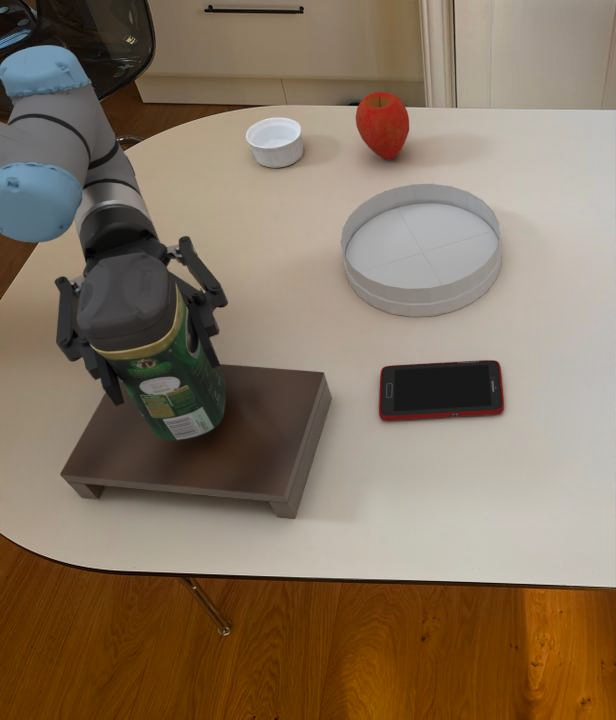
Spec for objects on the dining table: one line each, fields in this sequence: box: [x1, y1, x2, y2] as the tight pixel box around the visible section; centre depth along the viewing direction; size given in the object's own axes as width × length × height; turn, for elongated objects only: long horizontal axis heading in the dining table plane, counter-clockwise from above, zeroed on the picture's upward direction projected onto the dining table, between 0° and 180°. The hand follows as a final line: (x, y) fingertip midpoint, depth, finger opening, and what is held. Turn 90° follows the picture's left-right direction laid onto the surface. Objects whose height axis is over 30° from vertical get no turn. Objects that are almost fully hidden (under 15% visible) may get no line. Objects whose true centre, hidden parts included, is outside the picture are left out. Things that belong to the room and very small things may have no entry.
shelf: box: [59, 363, 333, 519], centre depth 79 cm, size 24×16×5 cm, turn 83°
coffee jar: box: [77, 253, 226, 441], centre depth 68 cm, size 10×8×19 cm
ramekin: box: [245, 117, 304, 169], centre depth 115 cm, size 9×9×4 cm
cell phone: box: [378, 359, 505, 421], centre depth 84 cm, size 8×15×1 cm, turn 93°
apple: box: [355, 91, 410, 161], centre depth 112 cm, size 9×8×11 cm
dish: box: [340, 183, 503, 318], centre depth 98 cm, size 22×22×5 cm
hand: (163, 376), depth 64 cm, fingers closed on coffee jar, 8 cm apart
